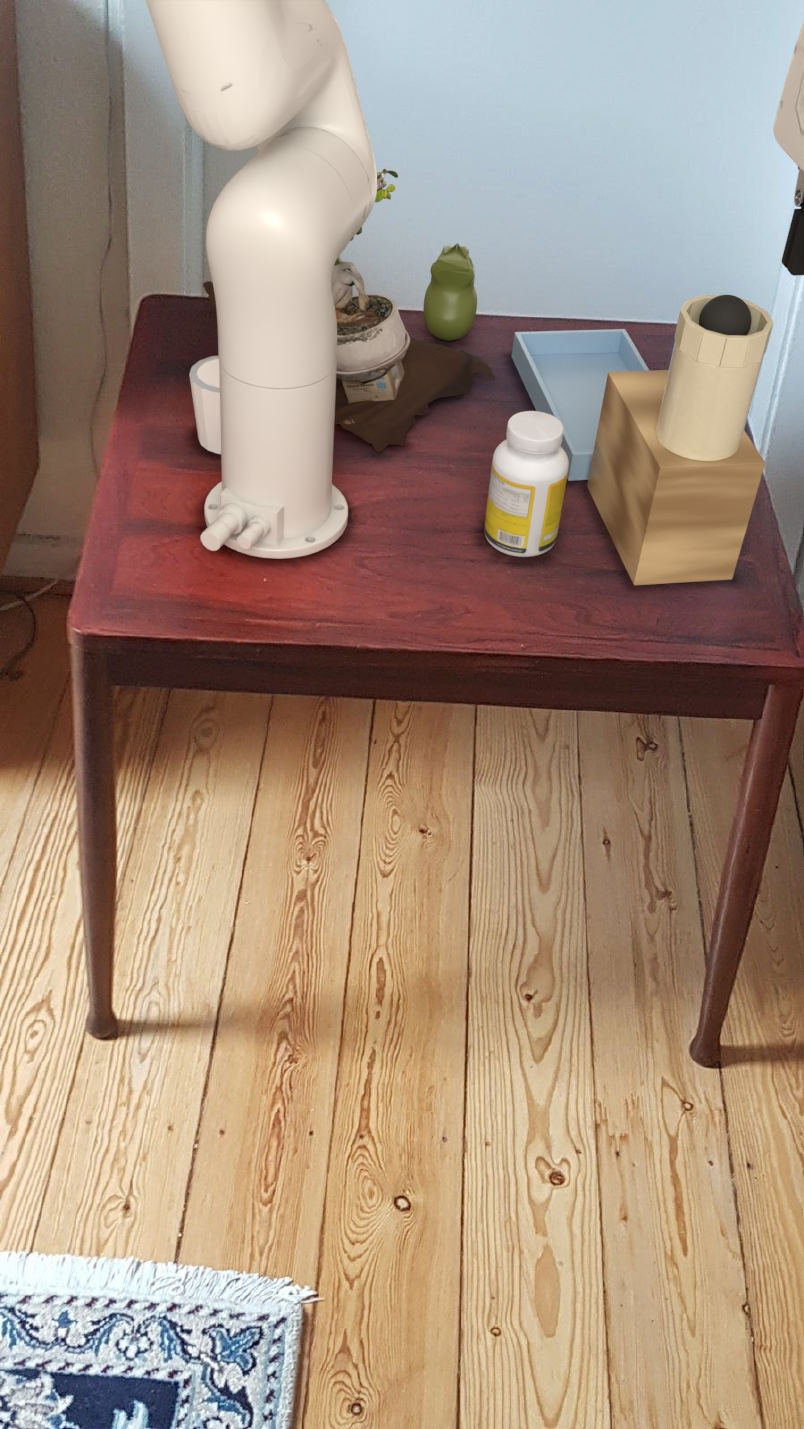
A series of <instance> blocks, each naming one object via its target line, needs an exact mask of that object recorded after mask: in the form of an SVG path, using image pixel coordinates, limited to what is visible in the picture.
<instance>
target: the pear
mask: <svg viewBox="0 0 804 1429" xmlns="http://www.w3.org/2000/svg"><path fill="white" fill-rule="evenodd" d="M430 275H431V276H430V282H429V284H428V286H427V288H426V291H425V293H424V298H423V308H422V312H423V320H424V321H423V322H424V325H425V327H426V329H427V331H428V332H429V333H430V334H431V335H432V336H433V337H435V338H436V339H438V340H442V341H446V342H453V341H457V340H459V339H462V338H463V337H465V336H466V335H467V334H468V333H469V332H470V330H471V329H472V327H473V325H474V323H475V320H476V315H477V309H478V295H477V294H478V293H477V291H476V287H475V277H476V273H475V266H474V263H473V260H472V258H471V257H470V250H469V249H468V248H467V247H466V245H465V246H463V245H461V246H460V244H459V243H458V242H457V243H456V244H455V245H453V246H451V245H443V247H442V250H441V252H440V254H439V256H438V258H437V259H436V260H435V261H434V262H433V263H432V264H431V266H430Z"/></svg>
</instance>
